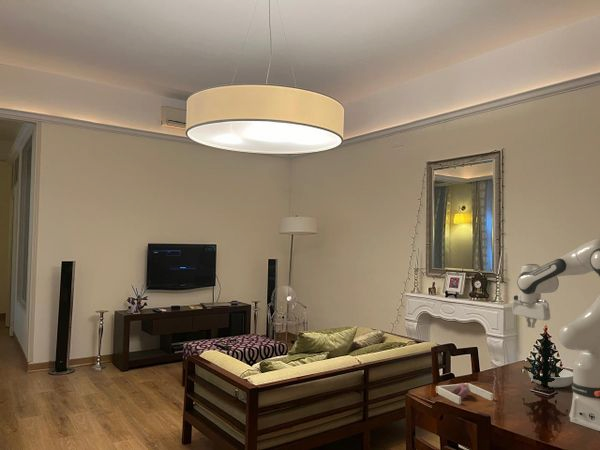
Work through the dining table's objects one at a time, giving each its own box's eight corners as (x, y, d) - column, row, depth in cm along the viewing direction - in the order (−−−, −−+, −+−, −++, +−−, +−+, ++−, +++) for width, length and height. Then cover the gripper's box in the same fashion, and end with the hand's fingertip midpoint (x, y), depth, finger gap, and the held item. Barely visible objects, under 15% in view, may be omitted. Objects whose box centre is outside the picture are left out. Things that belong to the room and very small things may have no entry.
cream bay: (493, 400, 214) (493, 393, 214) (458, 404, 208) (458, 397, 208) (468, 389, 230) (468, 382, 230) (435, 392, 224) (435, 386, 224)
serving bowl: (533, 377, 253) (533, 363, 253) (578, 384, 240) (578, 370, 240) (523, 385, 237) (522, 371, 237) (570, 394, 223) (570, 379, 224)
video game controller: (465, 403, 214) (472, 390, 214) (455, 398, 214) (462, 385, 214) (460, 396, 223) (466, 383, 223) (451, 392, 224) (458, 378, 224)
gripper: (553, 300, 217) (553, 330, 217) (520, 295, 237) (520, 323, 236) (542, 300, 215) (543, 331, 215) (509, 295, 235) (510, 324, 234)
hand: (530, 327), depth 226 cm, fingers closed
